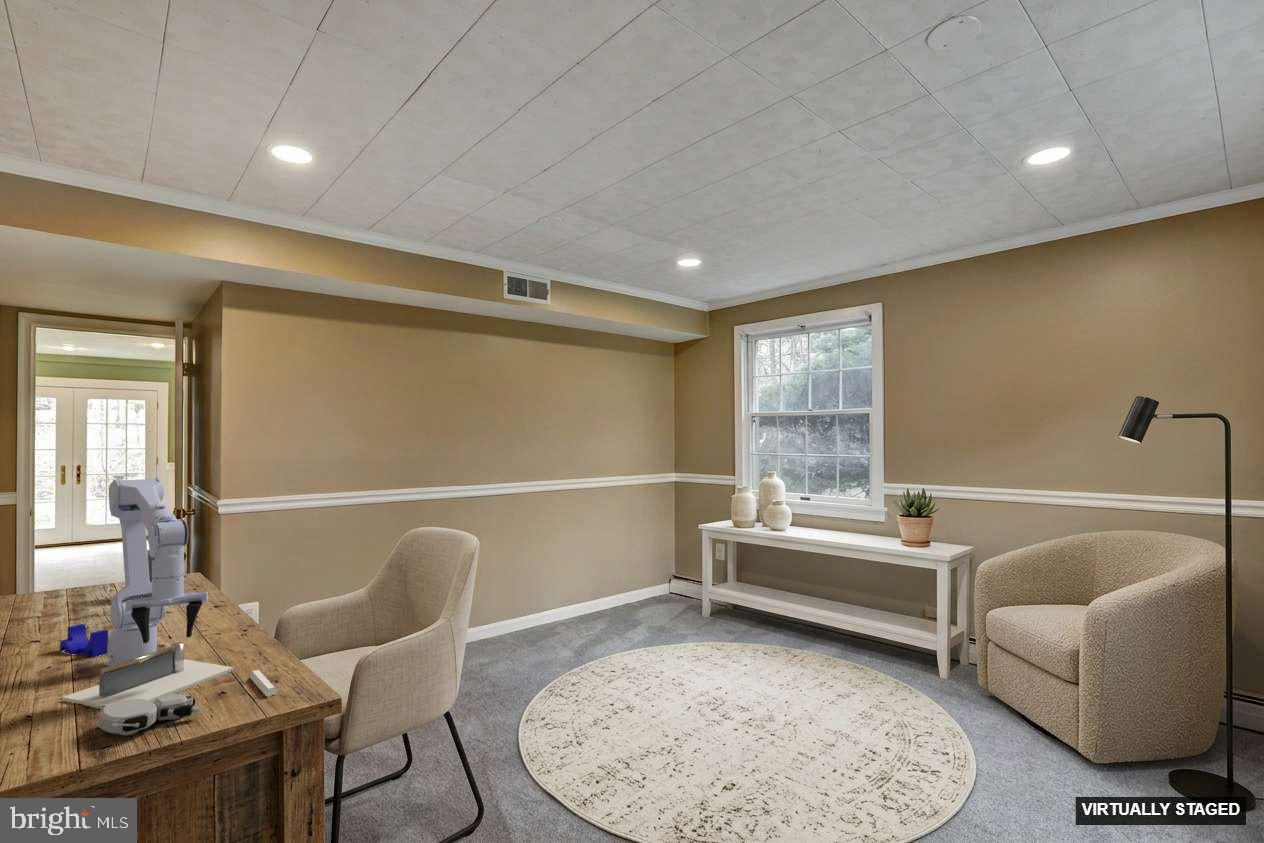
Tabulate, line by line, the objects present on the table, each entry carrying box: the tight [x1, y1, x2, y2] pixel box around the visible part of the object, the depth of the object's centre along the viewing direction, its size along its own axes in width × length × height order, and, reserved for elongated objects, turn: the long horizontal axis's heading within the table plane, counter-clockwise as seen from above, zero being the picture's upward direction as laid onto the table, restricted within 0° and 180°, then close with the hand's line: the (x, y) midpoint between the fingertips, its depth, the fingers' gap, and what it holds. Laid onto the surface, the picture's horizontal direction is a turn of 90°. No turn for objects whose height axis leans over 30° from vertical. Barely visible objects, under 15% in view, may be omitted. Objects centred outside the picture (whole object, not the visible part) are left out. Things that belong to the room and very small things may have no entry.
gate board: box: [61, 658, 235, 710], centre depth 139 cm, size 18×24×1 cm
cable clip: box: [59, 623, 109, 658], centre depth 159 cm, size 12×4×6 cm, turn 65°
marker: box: [249, 669, 278, 697], centre depth 140 cm, size 3×2×16 cm
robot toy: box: [96, 692, 203, 737], centre depth 121 cm, size 12×4×15 cm
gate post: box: [170, 641, 185, 673], centre depth 145 cm, size 2×2×7 cm
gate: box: [98, 646, 173, 696], centre depth 137 cm, size 2×14×6 cm, turn 161°
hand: (167, 639), depth 139 cm, fingers open, 7 cm apart
